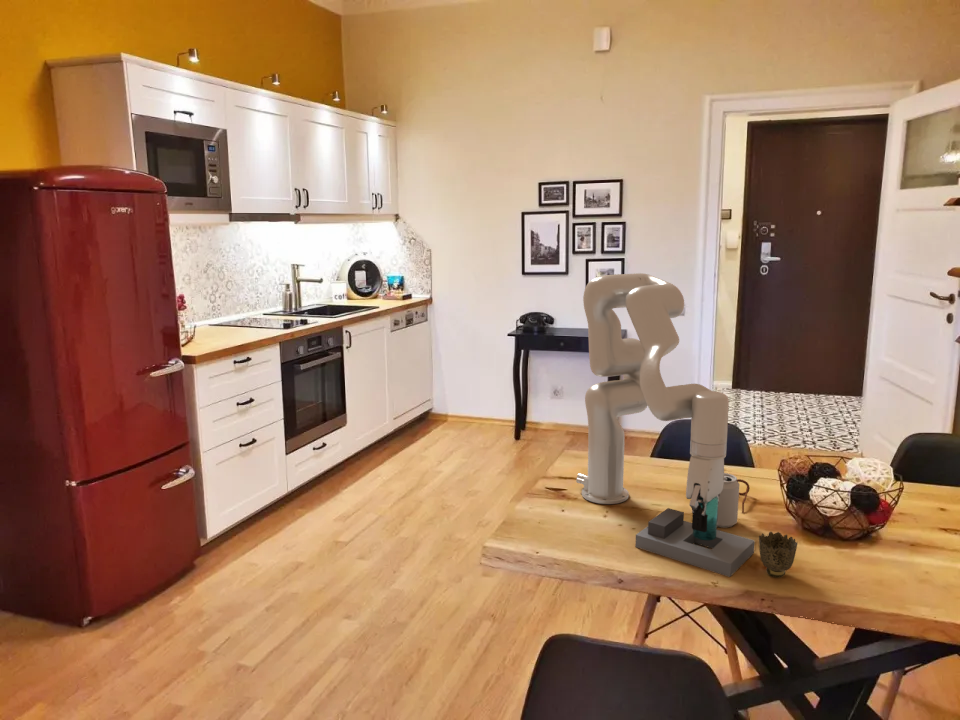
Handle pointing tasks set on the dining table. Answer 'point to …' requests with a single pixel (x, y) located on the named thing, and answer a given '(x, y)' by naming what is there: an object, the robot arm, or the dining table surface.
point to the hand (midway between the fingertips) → (704, 525)
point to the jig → (678, 541)
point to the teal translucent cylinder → (709, 521)
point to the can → (728, 502)
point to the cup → (777, 553)
